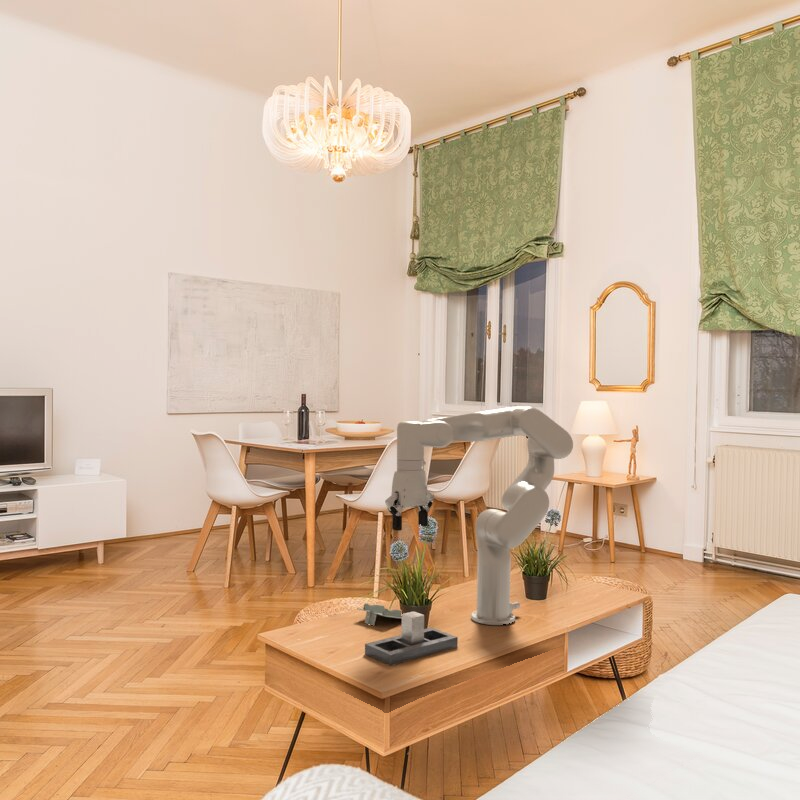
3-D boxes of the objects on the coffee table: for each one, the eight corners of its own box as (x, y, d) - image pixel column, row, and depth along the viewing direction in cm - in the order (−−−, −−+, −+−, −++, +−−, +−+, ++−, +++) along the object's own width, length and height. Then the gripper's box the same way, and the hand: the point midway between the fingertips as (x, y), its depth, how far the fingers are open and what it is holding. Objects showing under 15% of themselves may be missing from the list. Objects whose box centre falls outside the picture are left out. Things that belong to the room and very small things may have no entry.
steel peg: (413, 646, 184) (414, 611, 184) (423, 651, 180) (424, 615, 180) (401, 649, 181) (401, 613, 181) (411, 654, 178) (412, 617, 178)
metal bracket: (390, 610, 196) (351, 600, 206) (386, 632, 195) (346, 620, 205) (422, 614, 207) (382, 604, 216) (418, 635, 205) (378, 624, 215)
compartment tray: (431, 636, 192) (431, 627, 192) (457, 647, 184) (457, 637, 184) (364, 653, 178) (365, 643, 178) (390, 665, 170) (390, 655, 170)
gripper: (423, 463, 208) (423, 522, 208) (377, 466, 197) (377, 529, 197) (442, 465, 202) (442, 526, 202) (395, 468, 191) (395, 533, 191)
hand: (410, 527), depth 200 cm, fingers open, 9 cm apart
